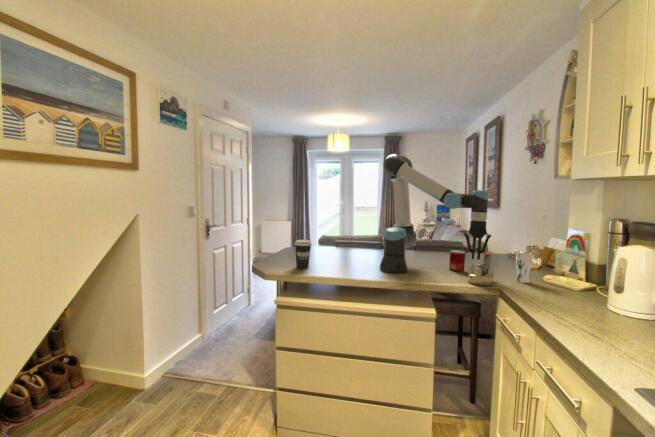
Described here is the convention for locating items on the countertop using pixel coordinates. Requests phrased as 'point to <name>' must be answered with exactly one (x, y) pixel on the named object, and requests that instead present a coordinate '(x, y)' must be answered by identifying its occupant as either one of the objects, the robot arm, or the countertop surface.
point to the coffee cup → (302, 253)
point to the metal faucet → (482, 272)
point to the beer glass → (523, 266)
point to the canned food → (457, 260)
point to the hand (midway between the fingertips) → (475, 265)
